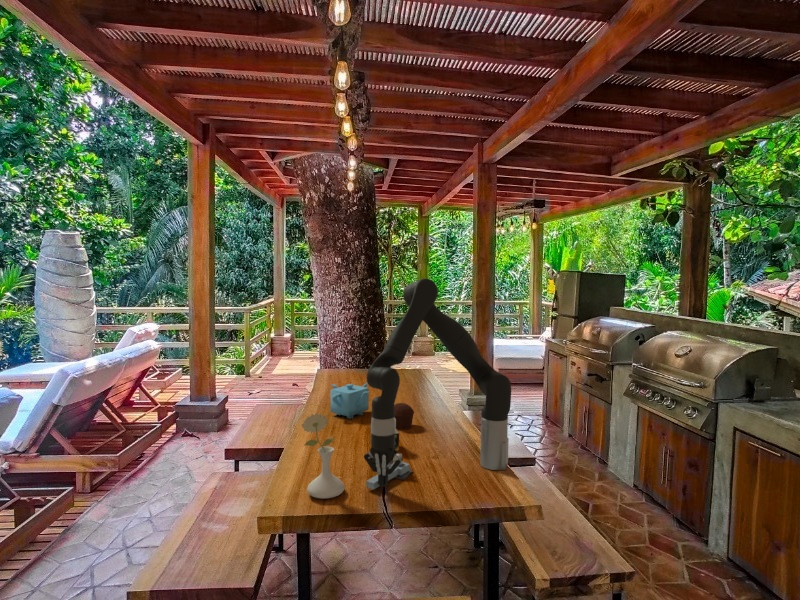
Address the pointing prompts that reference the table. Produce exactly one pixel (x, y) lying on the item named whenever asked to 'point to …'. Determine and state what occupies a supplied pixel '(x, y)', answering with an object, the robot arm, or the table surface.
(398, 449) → the medicine bottle
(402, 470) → the link
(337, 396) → the teakettle
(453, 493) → the table surface
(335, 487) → the flower in vase
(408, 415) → the muffin
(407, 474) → the pintle block
